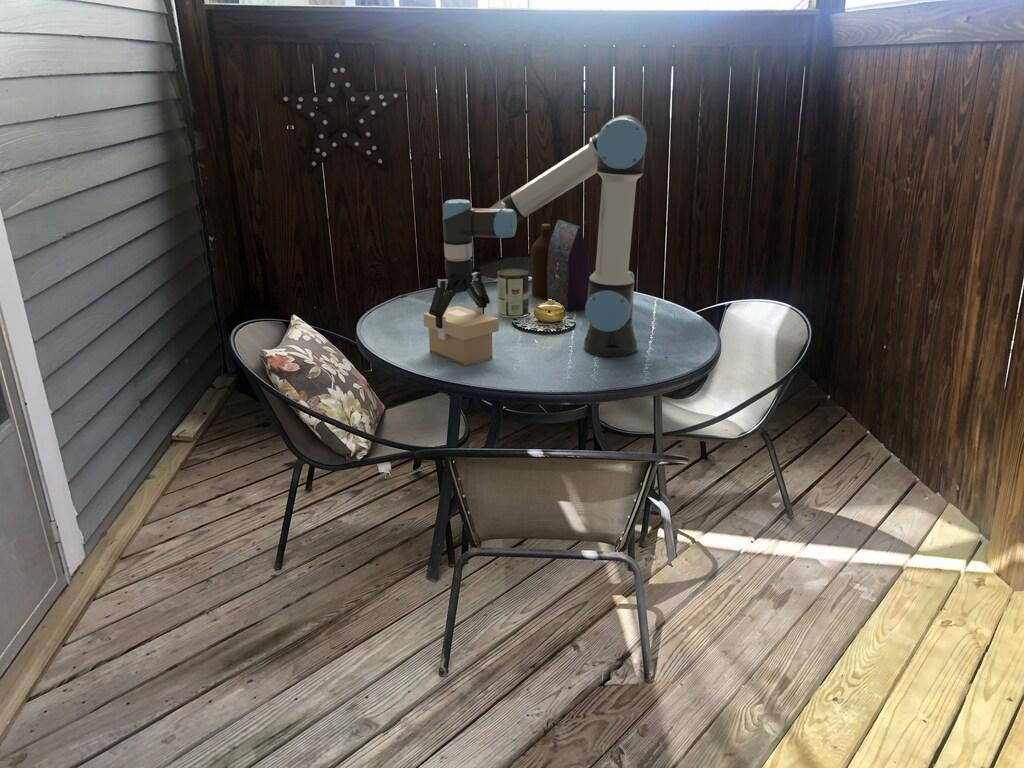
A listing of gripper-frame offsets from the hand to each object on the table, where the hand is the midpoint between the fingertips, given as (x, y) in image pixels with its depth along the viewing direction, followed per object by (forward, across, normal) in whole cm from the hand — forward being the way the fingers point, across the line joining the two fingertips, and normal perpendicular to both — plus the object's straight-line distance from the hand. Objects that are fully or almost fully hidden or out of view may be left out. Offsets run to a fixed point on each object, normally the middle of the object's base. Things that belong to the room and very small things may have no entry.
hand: (461, 334), depth 235 cm
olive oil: (+7, -64, -33) cm, 72 cm away
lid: (-2, 0, 0) cm, 2 cm away
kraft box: (+6, 0, 0) cm, 6 cm away
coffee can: (+7, -39, -22) cm, 45 cm away
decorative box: (+7, -60, -18) cm, 63 cm away
